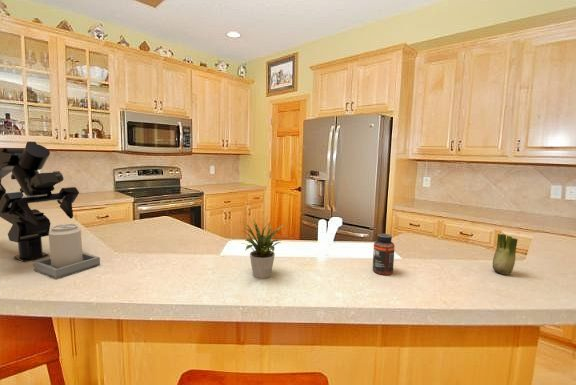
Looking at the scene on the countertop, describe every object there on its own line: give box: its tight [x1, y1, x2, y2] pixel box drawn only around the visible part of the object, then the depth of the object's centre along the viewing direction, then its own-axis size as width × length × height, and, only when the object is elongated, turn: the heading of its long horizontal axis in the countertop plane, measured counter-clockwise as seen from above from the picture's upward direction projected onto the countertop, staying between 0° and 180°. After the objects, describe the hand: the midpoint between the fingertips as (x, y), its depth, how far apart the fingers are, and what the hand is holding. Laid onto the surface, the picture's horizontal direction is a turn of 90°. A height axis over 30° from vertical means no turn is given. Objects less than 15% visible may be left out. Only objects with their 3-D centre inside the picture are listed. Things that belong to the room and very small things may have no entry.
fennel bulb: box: [492, 233, 518, 276], centre depth 92 cm, size 6×5×12 cm
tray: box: [33, 251, 101, 280], centre depth 89 cm, size 12×12×2 cm
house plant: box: [238, 219, 285, 279], centre depth 86 cm, size 14×14×16 cm
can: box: [48, 223, 83, 269], centre depth 88 cm, size 8×8×12 cm
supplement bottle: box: [372, 233, 395, 276], centre depth 91 cm, size 6×6×11 cm
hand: (55, 220), depth 89 cm, fingers open, 9 cm apart
